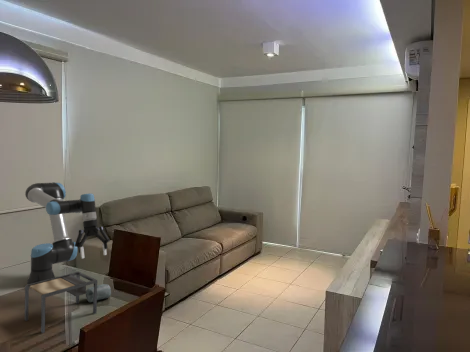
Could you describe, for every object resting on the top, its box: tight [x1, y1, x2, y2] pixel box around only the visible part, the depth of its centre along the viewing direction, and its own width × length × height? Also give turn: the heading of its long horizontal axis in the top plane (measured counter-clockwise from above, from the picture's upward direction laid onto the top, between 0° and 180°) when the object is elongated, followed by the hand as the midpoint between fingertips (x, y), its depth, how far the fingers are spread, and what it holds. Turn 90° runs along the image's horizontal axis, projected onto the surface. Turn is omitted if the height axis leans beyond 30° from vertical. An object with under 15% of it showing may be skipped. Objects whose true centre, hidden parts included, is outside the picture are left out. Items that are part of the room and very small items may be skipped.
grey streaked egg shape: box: [85, 283, 112, 303], centre depth 198 cm, size 14×10×10 cm
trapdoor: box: [29, 275, 87, 297], centre depth 174 cm, size 21×14×6 cm
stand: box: [24, 271, 98, 334], centre depth 176 cm, size 27×18×18 cm, turn 143°
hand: (93, 256), depth 203 cm, fingers open, 13 cm apart
